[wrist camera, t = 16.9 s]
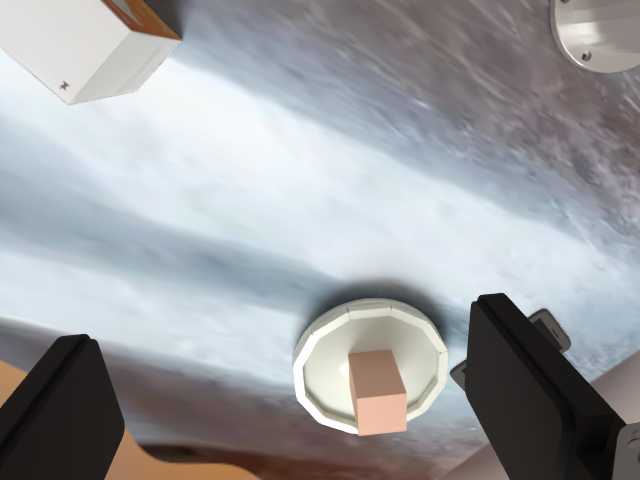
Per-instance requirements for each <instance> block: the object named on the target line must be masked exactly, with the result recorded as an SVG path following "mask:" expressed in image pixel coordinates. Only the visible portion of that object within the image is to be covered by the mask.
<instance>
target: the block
mask: <svg viewBox="0 0 640 480" xmlns="http://www.w3.org/2000/svg"><path fill="white" fill-rule="evenodd" d="M348 366H349V386H350V393H351V398H352V403H353V408H354V414H355V419H356V424H357V430H358V435H359V436H361V435H371V434H380V433H389V432H398V431H406V421H407V392H406V389H405V387H404V384H403V381H402V378H401V375H400V373H399V370H398V367H397V364H396V361H395V359H394V356H393V353H392V350H391V349H390V350H380V351H370V352H360V353H350V354H348Z"/></svg>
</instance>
